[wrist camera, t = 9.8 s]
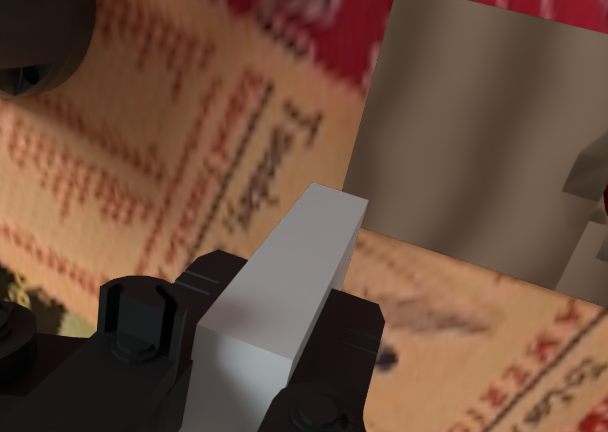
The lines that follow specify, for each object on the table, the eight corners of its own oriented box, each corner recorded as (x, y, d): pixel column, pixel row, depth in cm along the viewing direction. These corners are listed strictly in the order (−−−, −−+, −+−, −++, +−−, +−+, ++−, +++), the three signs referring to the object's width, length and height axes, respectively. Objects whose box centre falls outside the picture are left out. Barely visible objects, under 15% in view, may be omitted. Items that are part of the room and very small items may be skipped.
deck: (343, 205, 36) (334, 218, 34) (403, -16, 30) (398, -17, 28) (687, 316, 33) (703, 339, 30) (834, 89, 27) (867, 97, 24)
